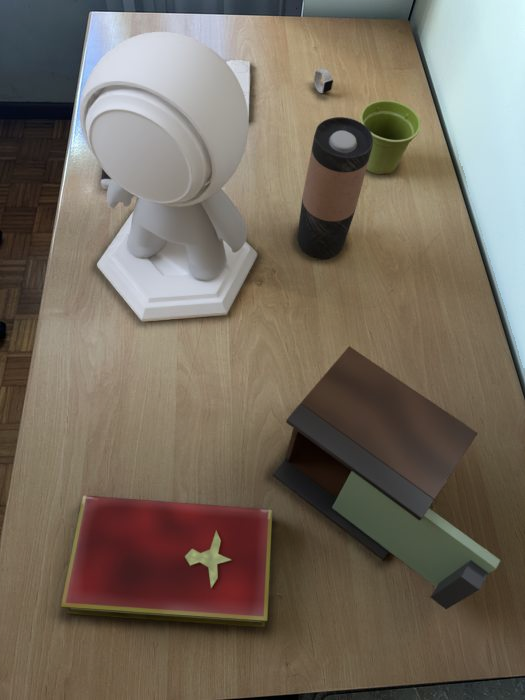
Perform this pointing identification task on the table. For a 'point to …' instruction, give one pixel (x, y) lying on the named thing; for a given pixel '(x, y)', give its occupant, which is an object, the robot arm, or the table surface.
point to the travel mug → (333, 185)
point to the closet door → (418, 541)
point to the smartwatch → (327, 80)
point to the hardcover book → (170, 562)
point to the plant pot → (389, 133)
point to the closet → (370, 442)
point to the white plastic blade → (242, 76)
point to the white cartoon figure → (170, 173)
